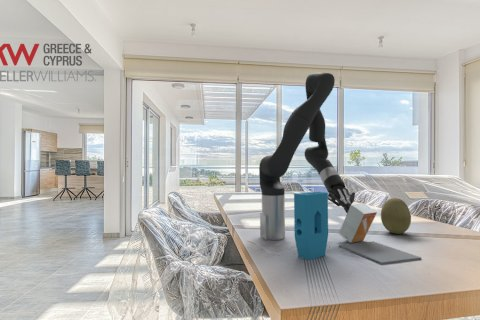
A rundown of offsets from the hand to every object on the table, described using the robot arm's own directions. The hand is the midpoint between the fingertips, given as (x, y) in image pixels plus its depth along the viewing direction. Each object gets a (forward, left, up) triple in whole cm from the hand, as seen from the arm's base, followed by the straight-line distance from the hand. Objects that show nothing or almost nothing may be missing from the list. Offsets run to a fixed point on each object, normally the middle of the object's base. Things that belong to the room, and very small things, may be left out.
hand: (351, 213), depth 112 cm
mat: (-2, -15, -10) cm, 19 cm away
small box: (0, +1, -9) cm, 9 cm away
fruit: (+26, +5, -11) cm, 28 cm away
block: (-24, -11, -11) cm, 29 cm away
